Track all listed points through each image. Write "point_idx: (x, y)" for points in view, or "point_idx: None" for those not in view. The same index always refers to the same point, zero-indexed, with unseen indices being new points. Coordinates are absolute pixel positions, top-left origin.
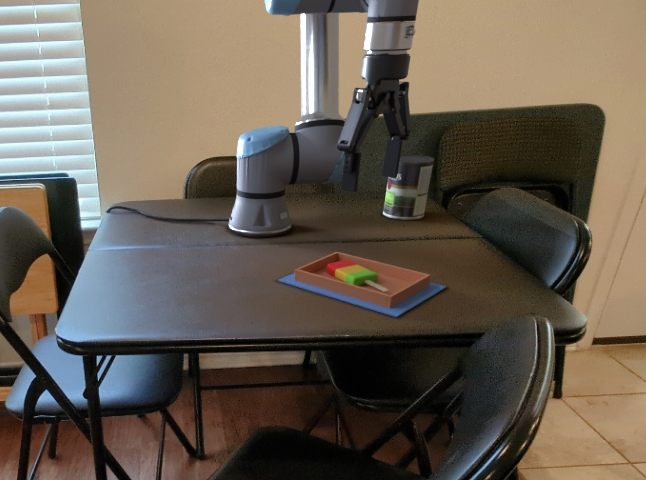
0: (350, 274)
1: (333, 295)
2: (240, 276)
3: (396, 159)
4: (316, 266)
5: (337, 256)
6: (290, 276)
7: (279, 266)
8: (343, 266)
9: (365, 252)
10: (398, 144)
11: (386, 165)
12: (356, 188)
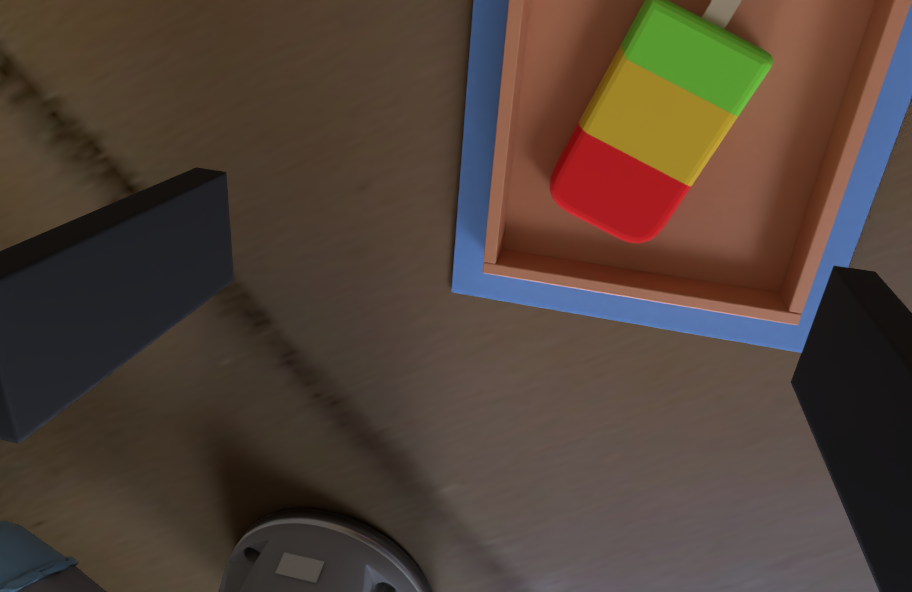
0: (734, 99)
1: (902, 89)
2: (827, 478)
3: (129, 231)
4: (651, 280)
5: (498, 257)
6: (753, 331)
7: (646, 408)
8: (642, 173)
9: (307, 208)
10: (12, 293)
11: (183, 291)
12: (854, 276)
